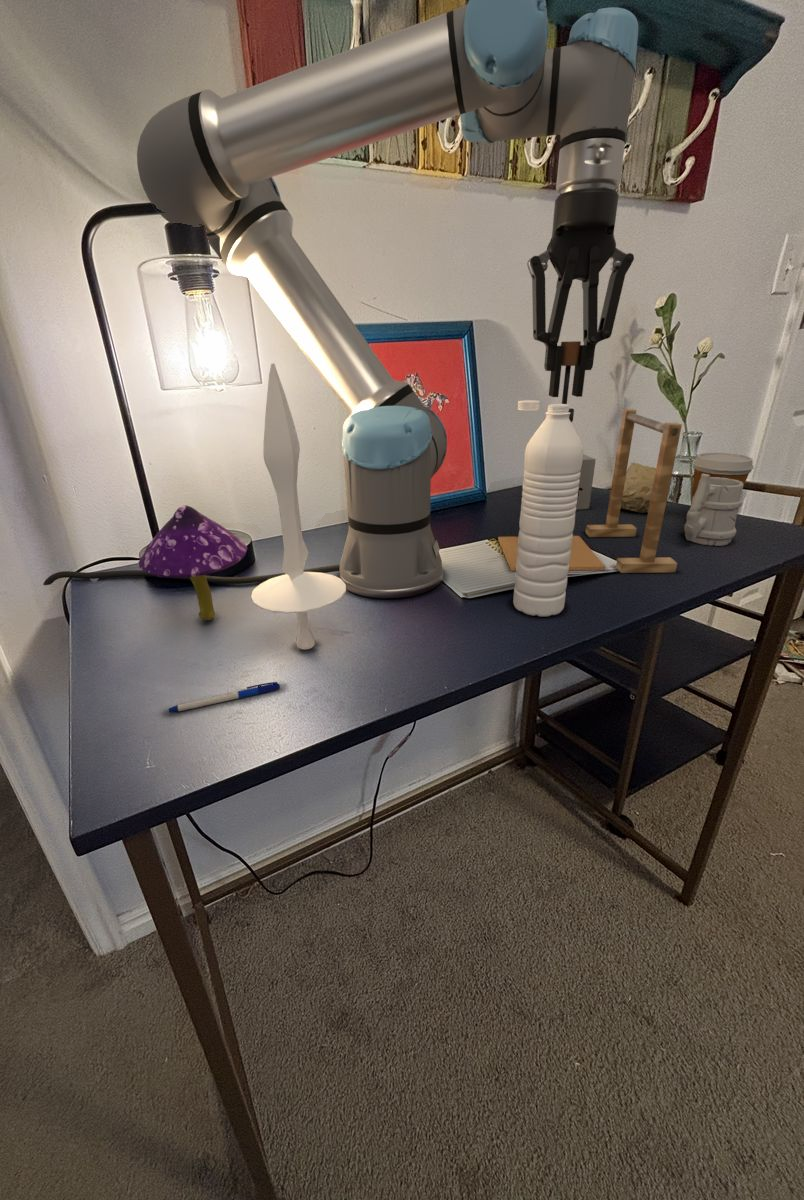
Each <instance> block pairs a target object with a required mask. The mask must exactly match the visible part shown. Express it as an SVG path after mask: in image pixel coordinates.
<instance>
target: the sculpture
mask: <svg viewBox="0 0 804 1200" xmlns="http://www.w3.org/2000/svg"><path fill="white" fill-rule="evenodd" d="M265 404H266V405H265V413H264V414H265V415H264V431H263V446H262V447H263V450H262V451H263V453H262V455H263V461H264V465H265V467H266V469H267V471H268V474H269V475H270V479H271V483H272V485H273V488H274V491H275V495H276V498H277V503H278V513H279V519H280V525H281V526H280V527H281V534H282V544H283V556H282V567H281V573H285V575H281V576H278V577H274V578H271V579H269V580H267V581H265V582H260V583H259V584H258V585H257V586H256V587H254V589H252V592H251V594H250V598H251V601H252V603H253V604H254V605H255V606H256V607H258V608H259V609H261V610H265V611H268V612H270V613H280V614H296V617H297V621H298V629H297V635H296V639H295V640H296V647H297V648H299V649H300V650H305V651H307V650H310V649H312V648H313V647H314V646H315V645H316V642H315V638H314V635H313V633H312V631H311V629H310V626H309V625H310V624H309V621H308V620H309V619H308V612H312V611H317V610H320V609H323V608H327V607H328V606H331V605H333V604H335V603H336V602H338V601H339V600H341V599H342V598H343V596H344V595H345V594H346V592H347V589H346V584H345V583H344V582H343V581H342V580H341V579H340V577H338V576H336V575H334V574H330V573H318V572H304V570H305V569H304V568H305V564H306V561H307V559H308V557H309V554H310V553H309V551H308V548H307V545H306V543H305V541H304V538H303V531H302V521H301V514H300V505H299V495H298V477H299V476H298V474H299V462H300V461H299V460H300V452H301V449H300V441H299V438H298V433H297V429H296V426H295V422H294V418H293V415H292V412H291V408H290V405H289V402H288V399H287V396H286V393H285V390H284V387H283V384H282V381H281V378H280V376H279V373H278V370H277V367H276V364H275V363H270V369H269V373H268V383H267V393H266V403H265Z"/></svg>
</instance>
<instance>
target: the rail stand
mask: <svg viewBox="0 0 804 1200" xmlns="http://www.w3.org/2000/svg"><path fill="white" fill-rule="evenodd" d="M635 424H637V425H640V426H641V427H645V428H648V429H650V430H654V431H655V432H658V433H661V434H662V436H661V441H660V446H659V452H658V457H657V463H656V467H655V468H656V473H655V478H654V483H653V489H652V494H651V499H650V505H649V510H648V512H647V517H646V521H645V527H644V531H643V532H644V533H643V537H642V541H641V548H640V553H639V557H616V560H615V561H616V562H615V568H616V569H617V571H618V572H619V573H621V574H641V573H642V574H651V573H655V574H657V573H658V574H660V573H664V574H665V573H666V574H667V573H676V572H677V566H678V562H677V561H675V560H674V559H673V558H672V557H670V556H668V557H656V556H657V551H658V545H659V540H660V536H661V532H662V526H663V522H664V521H663V520H664V516H665V511H666V507H667V502H668V496H669V491H670V485H671V481H672V476H673V471H674V466H675V461H676V456H677V451H678V446H679V441H680V437H681V432H682V426H683V424H682V423H679V422H660V421H658V420H655V419H652V418H648V417H645V416H643V415H639V414H637V409H634V408H623V409H622V415H621V421H620V428H619V433H618V434H619V435H618V440H617V441H618V442H617V447H616V453H615V460H614V467H613V474H612V481H611V485H610V492H609V501H608V505H607V507H608V508H607V514H606V520H605V524H586V526H585V534H586V535H587V536H588V537H589V538H629V537H630V538H632V537H633V538H634V537H636V535H637V529H638V528H637V527H636V526H635V525H634V524H631V523H630V524H628V523H625V524H619V520H620V516H621V515H620V514H621V509H622V508H621V502H622V496H623V490H624V484H625V478H626V472H627V470H628V467H629V466H628V464H629V458H630V454H631V453H630V452H631V448H632V447H631V446H632V440H633V435H634V428H635Z"/></svg>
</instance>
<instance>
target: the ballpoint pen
mask: <svg viewBox="0 0 804 1200" xmlns="http://www.w3.org/2000/svg"><path fill="white" fill-rule="evenodd" d="M280 688H281V685H280V683H278V682H277V681H271V682H265V683H259V684H256V685H255V684H254V685H251V686H247V687H246V689H241V690H238V691H235V692H229V693H225V694H221V695H217V696H212V697H208V698H207V697H206V698H204V699H198V700H193V701H190V702H189V701H188V702H184V703H180V704H175V705H173V706H172V707H169V708H168V712H169V713H178V712H184V711H187V710H192V709H197V708H202V707H204V706H210V705H215V704H219V703H224V702H228V701H233V700H236V699H244V698H247V697H252V696H256V695H262V694H266V693H270V692H274V691H277V690H279V689H280Z"/></svg>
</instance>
